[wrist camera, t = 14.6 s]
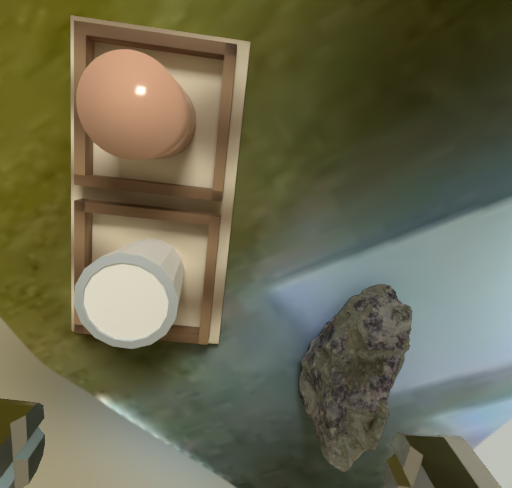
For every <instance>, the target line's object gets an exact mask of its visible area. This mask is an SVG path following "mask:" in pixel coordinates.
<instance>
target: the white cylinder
mask: <svg viewBox="0 0 512 488" xmlns="http://www.w3.org/2000/svg"><path fill="white" fill-rule="evenodd" d="M184 272H185V268H184V264H183V261H182V257H181V256H180V255H179V254H178V252H177V251H176V250H175V248H174V247H172V246H171V245H169V244H167V243H166V242H164V241H162V240H157V239H150V238H147V239H143V240H138V241H135V242H133V243H131V244H128V245H126V246H124V247H122V248H119V249H117V250H115V251H113V252H111V253H108V254H106V255H104V256H102V257H100V258H98V259H97V260H96V261H94V262H93V263H92V264H90V265H89V266H87V267H86V268H85V269H84V270H83V272H82V274H81V276H80V277H79V279H78V281H77V283H76V285H75V293H74V306H75V309H76V312H77V314H78V317H79V319H80V322H81V323H82V325H83V326H84V327H85V328H86V329H87V330H88V331H89V332H90V333H91V334H92V335H93V336H94V337H95V338H97V339H99V340H101V341H103V342H105V343H107V344H109V345H111V346H113V347H121V348H129V349H134V348H138V347H143V346H147V345H151V344H153V343H154V342H156V341H157V340H159V339H160V338H161V337H163V336H164V335H166V334H167V332H168V331H169V329H170V328H171V326H172V324H173V323H174V321H175V320H176V316H177V311H178V306H179V301H180V295H181V290H182V285H183V279H184Z"/></svg>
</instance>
